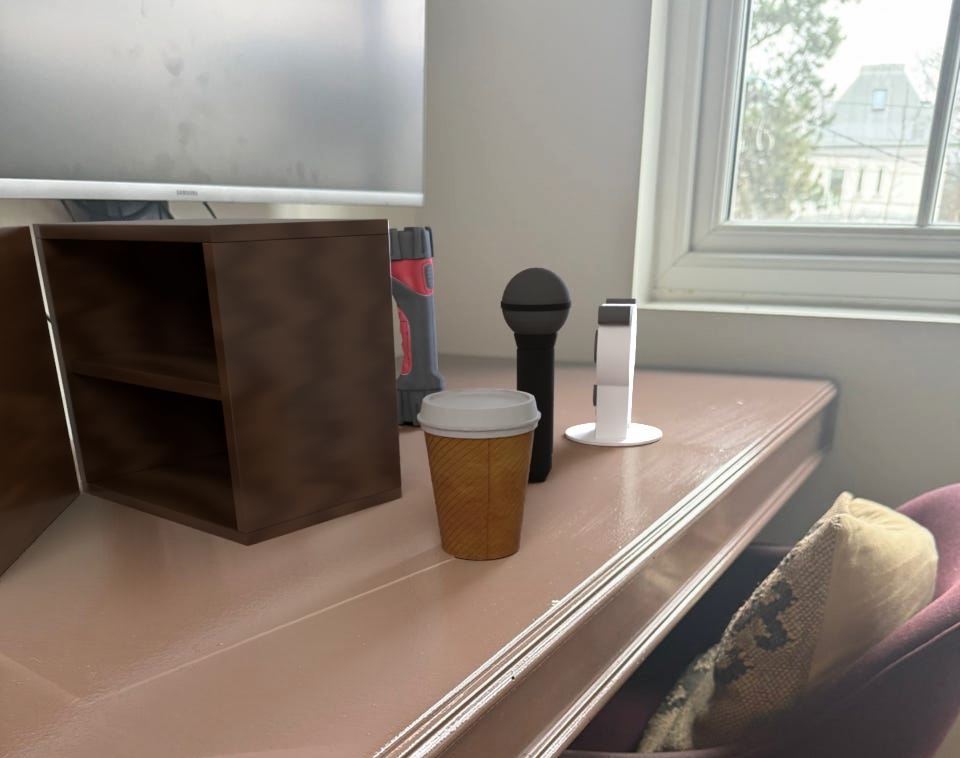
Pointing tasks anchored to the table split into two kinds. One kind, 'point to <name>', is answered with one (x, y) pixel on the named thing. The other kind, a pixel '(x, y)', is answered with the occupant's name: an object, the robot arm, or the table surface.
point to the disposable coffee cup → (479, 467)
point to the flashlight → (415, 318)
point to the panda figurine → (614, 381)
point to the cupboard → (228, 367)
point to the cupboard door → (28, 406)
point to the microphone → (537, 349)
